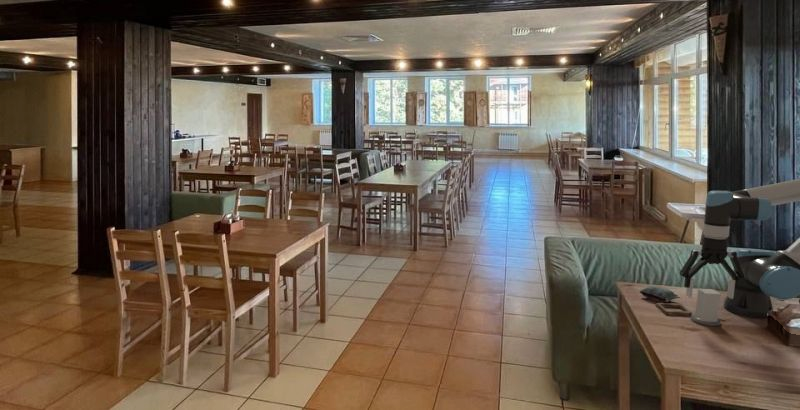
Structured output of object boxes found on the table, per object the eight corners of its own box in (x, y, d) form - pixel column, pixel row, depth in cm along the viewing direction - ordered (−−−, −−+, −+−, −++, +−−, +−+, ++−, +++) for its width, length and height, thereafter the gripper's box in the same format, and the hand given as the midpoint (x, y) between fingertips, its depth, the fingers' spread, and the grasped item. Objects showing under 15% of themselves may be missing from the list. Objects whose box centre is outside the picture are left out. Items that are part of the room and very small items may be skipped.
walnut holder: (680, 307, 198) (681, 303, 198) (691, 315, 190) (692, 312, 189) (655, 305, 199) (656, 302, 199) (665, 314, 190) (665, 311, 190)
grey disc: (712, 316, 189) (712, 314, 189) (725, 326, 180) (725, 324, 180) (685, 315, 190) (686, 313, 190) (697, 325, 181) (698, 323, 181)
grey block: (709, 316, 187) (713, 289, 185) (717, 322, 182) (720, 294, 180) (695, 315, 187) (698, 288, 186) (701, 321, 182) (705, 293, 181)
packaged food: (651, 293, 214) (653, 281, 213) (680, 302, 204) (681, 290, 203) (638, 297, 209) (639, 285, 208) (666, 306, 199) (667, 294, 198)
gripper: (747, 234, 183) (741, 294, 186) (672, 233, 185) (667, 292, 188) (760, 240, 175) (753, 301, 179) (682, 238, 177) (676, 299, 181)
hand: (709, 297), depth 183 cm, fingers open, 13 cm apart
